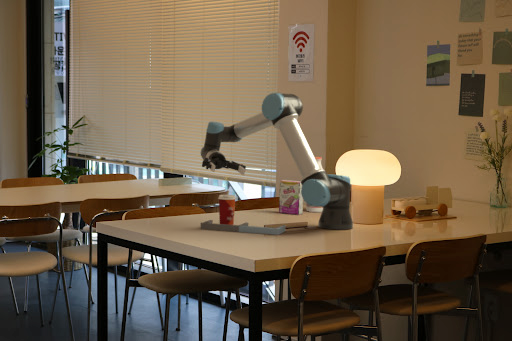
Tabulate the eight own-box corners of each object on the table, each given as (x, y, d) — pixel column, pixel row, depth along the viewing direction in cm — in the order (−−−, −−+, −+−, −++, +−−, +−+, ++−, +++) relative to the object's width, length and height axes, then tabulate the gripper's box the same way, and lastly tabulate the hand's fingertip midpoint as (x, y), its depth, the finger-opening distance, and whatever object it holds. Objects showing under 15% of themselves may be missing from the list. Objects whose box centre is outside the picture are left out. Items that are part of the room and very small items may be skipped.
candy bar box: (278, 213, 369) (279, 180, 368) (282, 212, 373) (283, 179, 372) (298, 215, 364) (299, 181, 362) (303, 214, 368) (304, 181, 367)
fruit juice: (309, 209, 386) (311, 156, 384) (326, 211, 382) (328, 157, 380) (303, 211, 377) (305, 156, 375) (321, 213, 374) (323, 157, 372)
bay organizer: (285, 231, 311) (285, 225, 311) (278, 234, 301) (278, 228, 301) (209, 225, 321) (209, 219, 321) (200, 228, 311) (200, 223, 311)
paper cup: (233, 230, 310) (233, 196, 309) (215, 229, 312) (216, 196, 311) (237, 227, 318) (238, 195, 317) (220, 226, 320) (220, 194, 319)
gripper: (239, 170, 345) (254, 181, 326) (188, 164, 337) (200, 175, 317) (242, 154, 344) (257, 165, 324) (191, 148, 335) (203, 158, 316)
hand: (229, 170), depth 321 cm, fingers open, 13 cm apart
